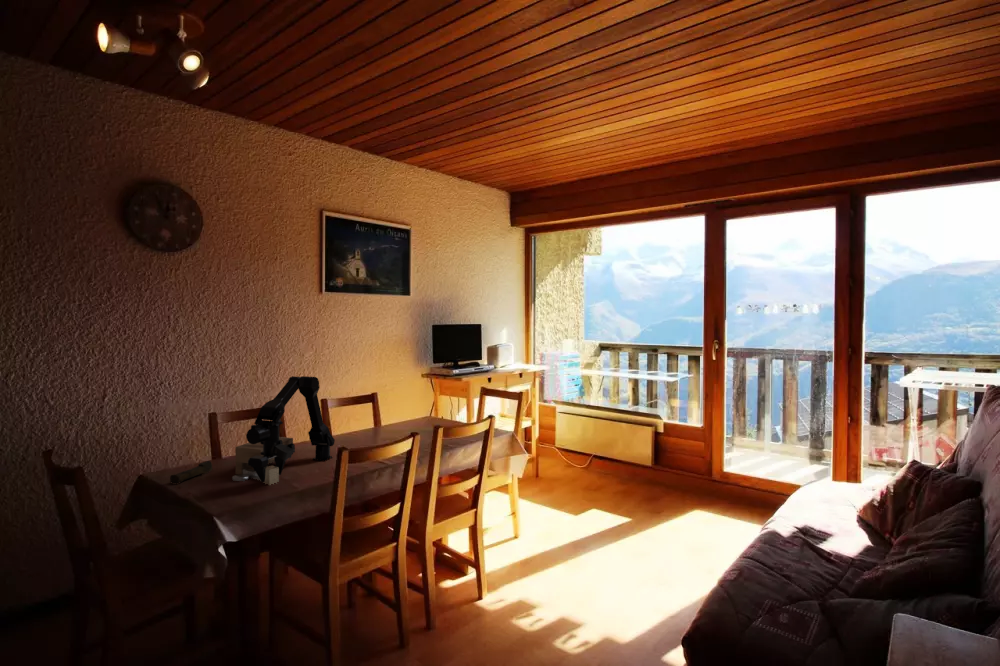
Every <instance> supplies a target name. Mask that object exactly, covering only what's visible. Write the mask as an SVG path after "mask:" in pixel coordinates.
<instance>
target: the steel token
mask: <svg viewBox="0 0 1000 666" xmlns="http://www.w3.org/2000/svg"><path fill="white" fill-rule="evenodd" d="M231 479H232V480H233V481H243V482H246V481H245V480H247V481H249V480H250V478H249V475H248V474H235V475H232V477H231ZM248 479H249V480H248ZM232 480H231V481H232ZM233 481H232V482H233Z"/></svg>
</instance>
